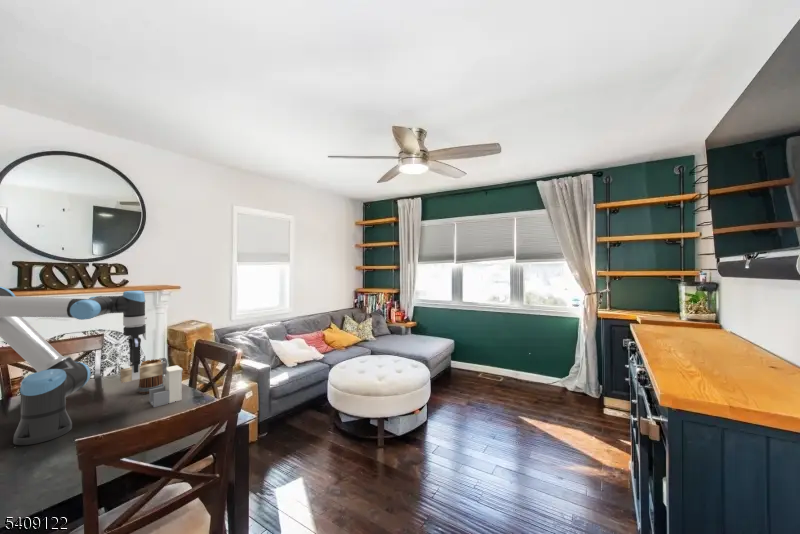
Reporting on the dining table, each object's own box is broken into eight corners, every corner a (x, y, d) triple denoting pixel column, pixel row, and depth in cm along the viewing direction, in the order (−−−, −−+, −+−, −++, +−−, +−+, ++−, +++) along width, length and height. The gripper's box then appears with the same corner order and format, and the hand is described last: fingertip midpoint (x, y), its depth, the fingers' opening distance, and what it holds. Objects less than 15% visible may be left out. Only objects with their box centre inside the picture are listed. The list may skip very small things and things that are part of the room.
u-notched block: (153, 407, 150) (154, 374, 149) (149, 402, 155) (149, 370, 155) (182, 399, 158) (182, 368, 158) (177, 395, 164) (177, 365, 164)
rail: (121, 383, 140) (121, 371, 140) (120, 380, 143) (120, 368, 143) (166, 373, 152) (166, 362, 152) (164, 371, 155) (164, 360, 155)
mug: (153, 394, 164) (153, 364, 164) (132, 394, 164) (132, 364, 164) (175, 383, 180) (175, 356, 180) (156, 382, 180) (156, 355, 180)
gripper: (148, 327, 142) (148, 380, 142) (142, 322, 154) (142, 371, 154) (125, 329, 136) (126, 385, 137) (121, 324, 148) (121, 375, 149)
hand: (135, 378), depth 145 cm, fingers closed on rail, 4 cm apart
